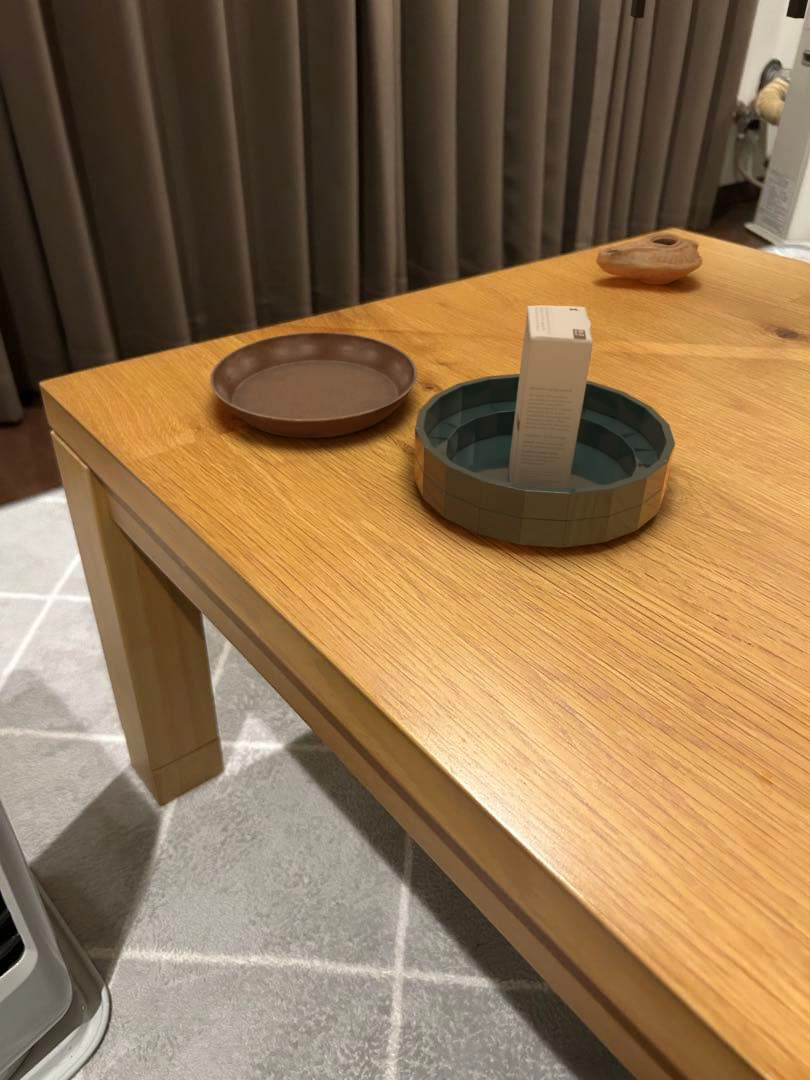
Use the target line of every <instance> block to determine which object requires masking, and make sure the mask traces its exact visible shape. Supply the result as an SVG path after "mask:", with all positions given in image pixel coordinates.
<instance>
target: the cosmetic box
mask: <svg viewBox="0 0 810 1080" xmlns="http://www.w3.org/2000/svg"><path fill="white" fill-rule="evenodd" d="M525 318H526V320H525V328H524V334H523V335H524V337H523V341H522V342H523V343H522V351H521V359H520V367H519V369H520V370H519V374H520V375H519V384H518V392H517V401H516V410H515V418H514V426H513V434H512V442H511V451H510V461H509V483H514V484H518V485H523V486H529V487H546V488H562V489H568V486H569V480H570V475H571V469H572V463H573V457H574V451H575V445H576V439H577V434H578V428H579V422H580V417H581V411H582V405H583V399H584V394H585V388H586V382H587V381H588V375H589V370H590V365H591V358H592V350H593V345H594V340H593V334H592V330H591V327H592V322H591V320H590V318H589V315H588V311H587V308H586V306H576V305H548V304H547V305H545V304H544V305H542V304H541V305H527V307H526V317H525Z"/></svg>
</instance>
